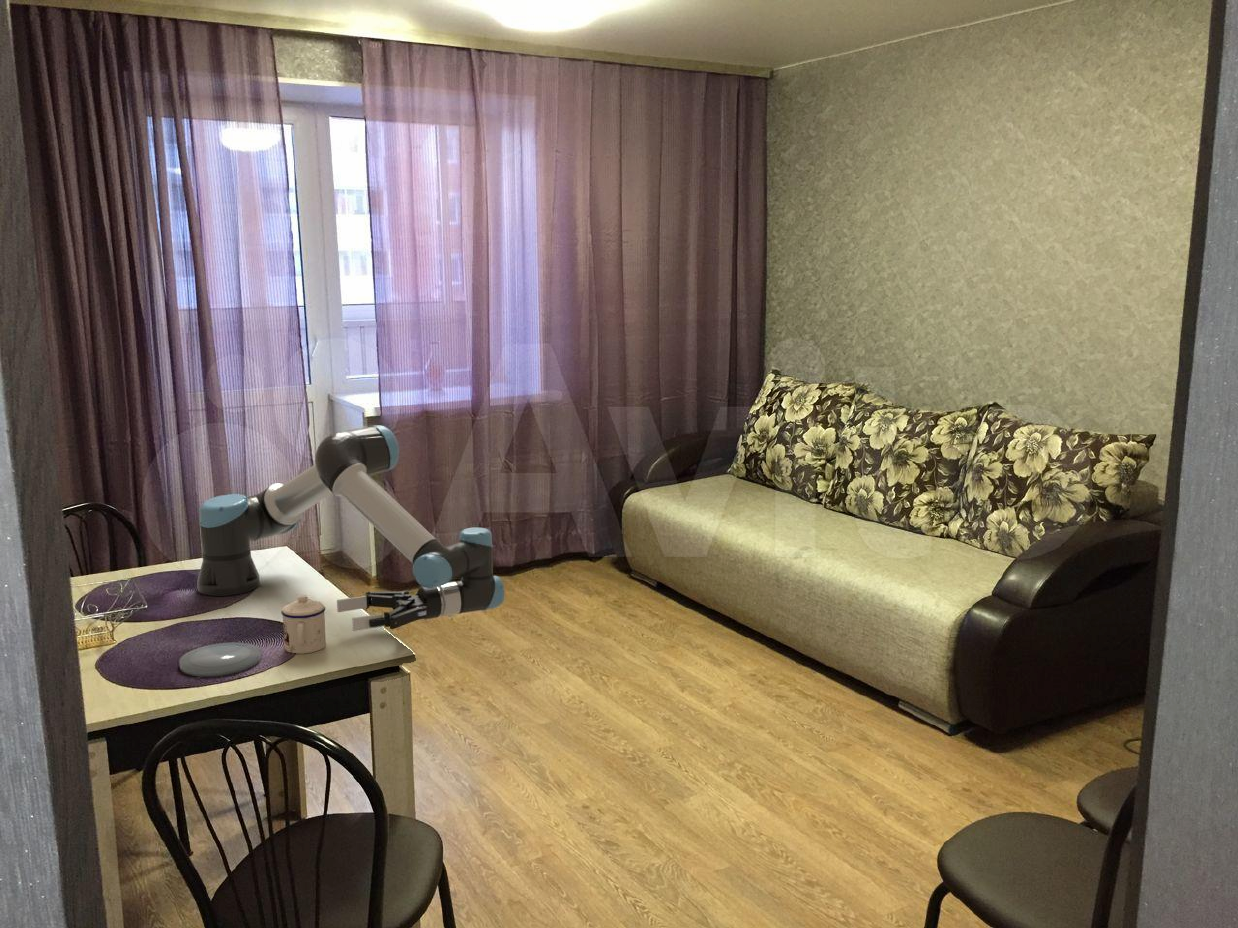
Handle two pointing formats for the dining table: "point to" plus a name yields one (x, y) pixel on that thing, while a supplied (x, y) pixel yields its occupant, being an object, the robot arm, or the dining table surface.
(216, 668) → the dish
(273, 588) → the dining table surface
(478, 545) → the robot arm
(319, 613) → the teacup with lid
